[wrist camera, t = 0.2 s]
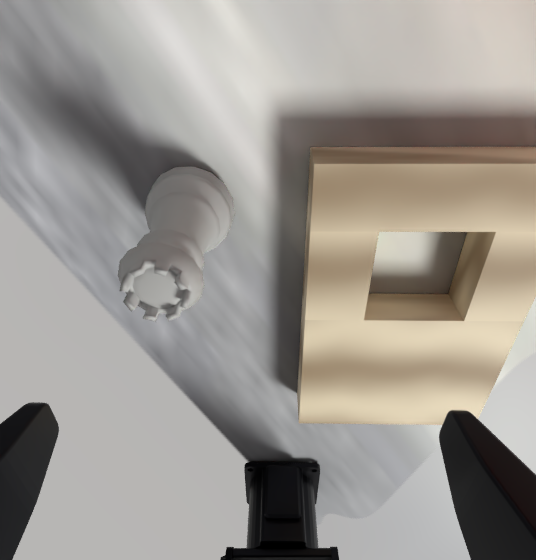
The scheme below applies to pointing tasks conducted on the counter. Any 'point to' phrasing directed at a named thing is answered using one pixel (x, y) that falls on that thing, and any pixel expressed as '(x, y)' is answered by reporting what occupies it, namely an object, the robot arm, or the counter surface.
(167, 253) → the rook chess piece
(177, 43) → the counter surface
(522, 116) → the counter surface
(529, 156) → the socket block
